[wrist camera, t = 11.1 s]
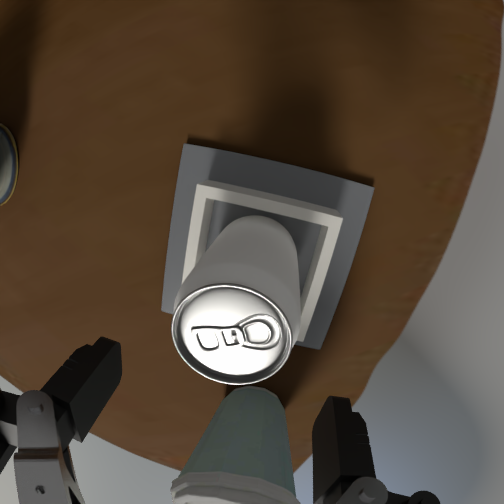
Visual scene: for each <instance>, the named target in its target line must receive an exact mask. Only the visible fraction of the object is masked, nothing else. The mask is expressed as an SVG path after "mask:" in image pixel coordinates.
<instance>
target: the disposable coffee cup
mask: <svg viewBox="0 0 504 504" xmlns="http://www.w3.org/2000/svg"><path fill="white" fill-rule="evenodd" d="M171 495H172V500H173V503H174V504H300V502H299V501H298V500H297V499H296V494H295V485H294V478H293V470H292V462H291V454H290V447H289V439H288V432H287V424H286V417H285V410H284V408H283V406H282V404H281V402H280V400H279V399H278V397H277V395H275V394H274V393H272V392H270V391H269V390H267V389H265V388H261V387H255V386H245V387H241V388H236V389H234V390H233V391H232V392H231V393H230V394H229V395H228V396H227V397H225V398H224V399H223V400H222V402H221V404H220V406H219V408H218V409H217V411H216V413H215V415H214V416H213V418H212V420H211V422H210V424H209V425H208V427H207V429H206V431H205V432H204V434H203V436H202V438H201V439H200V441H199V443H198V444H197V446H196V448H195V450H194V451H193V453H192V455H191V456H190V458H189V460H188V462H187V463H186V465H185V467H184V468H183V470H182V472H181V474H180V475H179V477H178V478H177V479H175V480H173V481H172V487H171Z"/></svg>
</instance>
